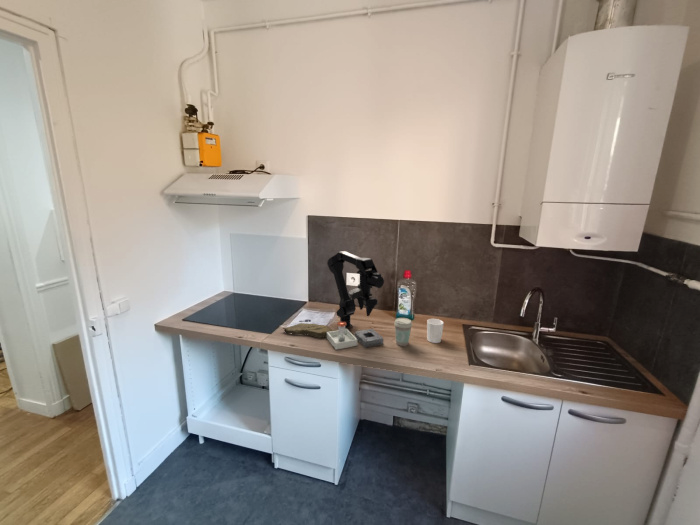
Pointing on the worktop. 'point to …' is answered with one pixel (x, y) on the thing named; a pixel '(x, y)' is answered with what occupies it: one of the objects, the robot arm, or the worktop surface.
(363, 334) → the block
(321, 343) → the worktop surface
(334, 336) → the parts tray
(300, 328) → the stone slab
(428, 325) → the white cup
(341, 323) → the grey copper-tipped cylinder
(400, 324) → the coffee cup
